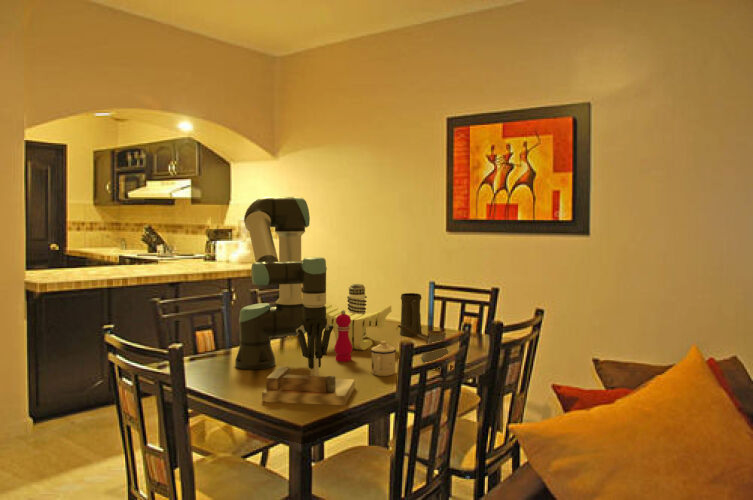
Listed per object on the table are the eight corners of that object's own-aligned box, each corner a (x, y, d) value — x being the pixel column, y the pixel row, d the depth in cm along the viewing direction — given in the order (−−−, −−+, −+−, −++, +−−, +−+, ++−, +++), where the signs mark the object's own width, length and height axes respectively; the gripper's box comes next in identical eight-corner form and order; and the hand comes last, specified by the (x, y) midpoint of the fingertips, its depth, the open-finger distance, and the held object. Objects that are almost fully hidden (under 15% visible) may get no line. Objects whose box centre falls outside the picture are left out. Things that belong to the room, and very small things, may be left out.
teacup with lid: (374, 369, 223) (374, 338, 222) (398, 370, 221) (398, 339, 220) (365, 377, 212) (365, 345, 211) (390, 379, 209) (390, 346, 208)
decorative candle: (351, 334, 288) (351, 283, 286) (369, 335, 285) (369, 283, 283) (344, 337, 279) (344, 285, 278) (362, 339, 276) (362, 285, 275)
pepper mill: (350, 362, 233) (349, 311, 232) (332, 361, 234) (332, 311, 233) (354, 358, 240) (354, 309, 239) (337, 357, 242) (337, 308, 240)
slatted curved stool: (315, 348, 258) (314, 307, 257) (328, 340, 273) (328, 302, 272) (381, 353, 249) (381, 310, 248) (391, 345, 264) (391, 305, 263)
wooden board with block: (262, 401, 184) (261, 379, 183) (279, 385, 202) (279, 365, 201) (344, 405, 180) (344, 382, 180) (354, 388, 198) (354, 367, 198)
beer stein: (396, 332, 292) (397, 292, 290) (416, 331, 295) (417, 291, 293) (407, 340, 278) (408, 299, 275) (428, 339, 281) (429, 298, 278)
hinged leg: (282, 389, 185) (282, 376, 185) (286, 386, 189) (286, 373, 188) (333, 393, 182) (333, 379, 181) (336, 389, 185) (336, 376, 185)
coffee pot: (452, 362, 233) (453, 324, 232) (448, 370, 222) (448, 330, 221) (399, 359, 238) (399, 322, 238) (392, 366, 227) (393, 327, 227)
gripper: (301, 309, 183) (301, 384, 185) (337, 305, 190) (338, 377, 192) (290, 305, 190) (291, 378, 191) (326, 302, 197) (326, 372, 198)
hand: (314, 377), depth 192 cm, fingers closed
